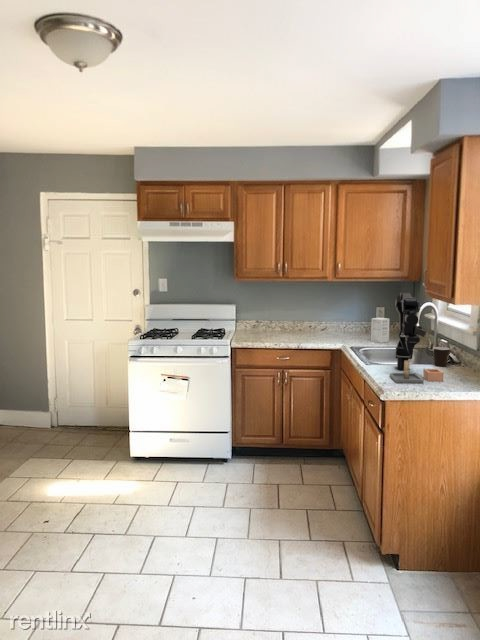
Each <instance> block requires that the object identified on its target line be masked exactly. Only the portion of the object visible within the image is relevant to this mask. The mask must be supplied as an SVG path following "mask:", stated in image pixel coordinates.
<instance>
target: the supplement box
mask: <svg viewBox="0 0 480 640" xmlns="http://www.w3.org/2000/svg"><path fill="white" fill-rule="evenodd" d="M370 327H371V328H370V329H371V330H370V342H373V343H380V344H384V343H387V342H390V318H388V317H387V318H386V317H373V318H371V326H370Z"/></svg>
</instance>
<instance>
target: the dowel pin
mask: <svg viewBox="0 0 480 640" xmlns="http://www.w3.org/2000/svg"><path fill="white" fill-rule="evenodd" d="M409 369H410V360H408V361H407V360H405V361H404V370H403V373H404V379H409V373H410V370H409Z"/></svg>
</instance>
